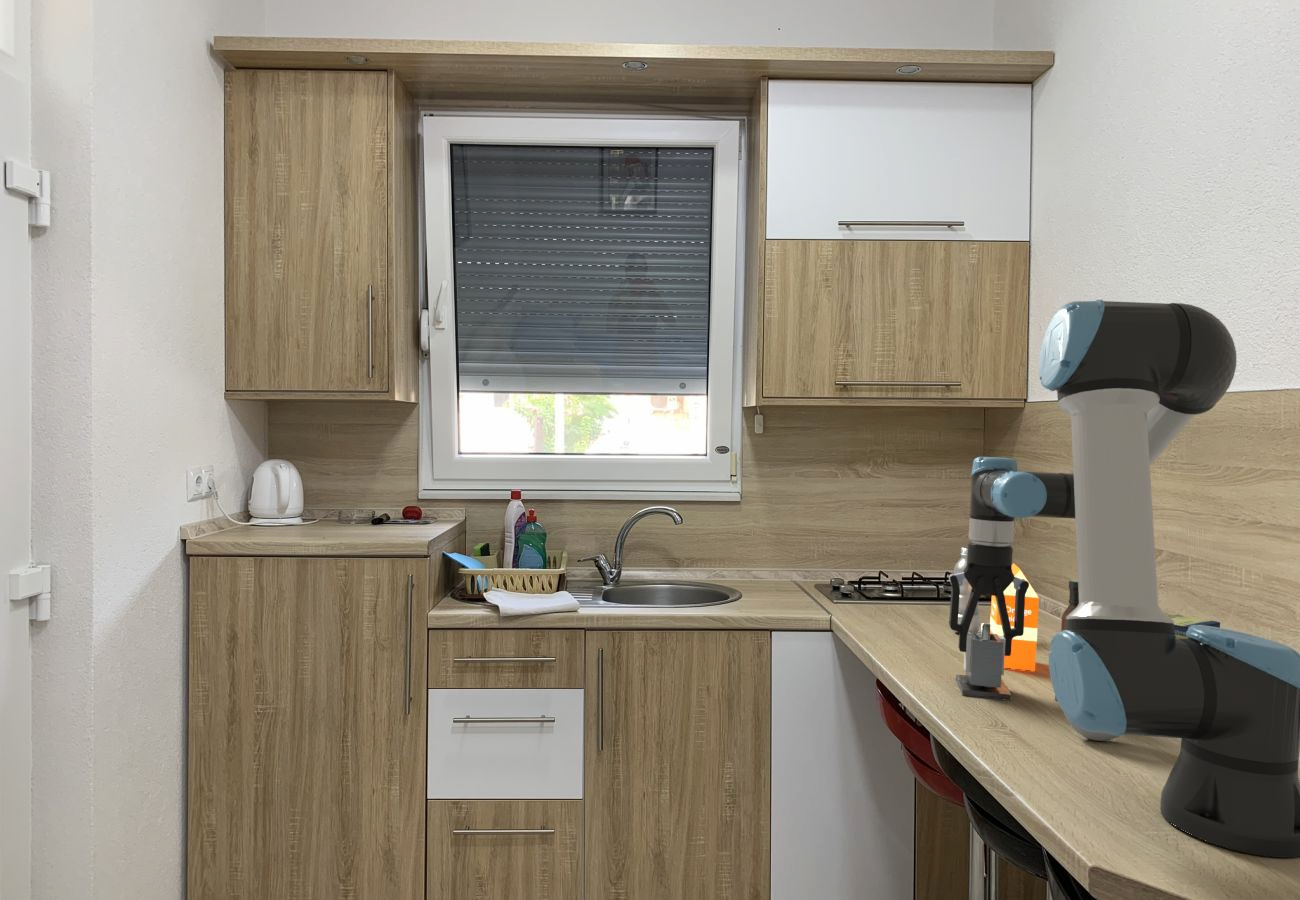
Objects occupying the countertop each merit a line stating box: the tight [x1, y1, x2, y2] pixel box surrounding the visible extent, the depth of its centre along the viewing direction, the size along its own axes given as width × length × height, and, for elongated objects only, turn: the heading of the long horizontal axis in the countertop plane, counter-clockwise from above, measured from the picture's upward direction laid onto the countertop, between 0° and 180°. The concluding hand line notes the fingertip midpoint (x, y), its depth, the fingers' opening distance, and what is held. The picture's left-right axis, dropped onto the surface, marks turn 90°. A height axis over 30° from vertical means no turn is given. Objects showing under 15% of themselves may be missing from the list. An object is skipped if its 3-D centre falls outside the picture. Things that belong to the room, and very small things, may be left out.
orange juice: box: [989, 562, 1040, 672], centre depth 177 cm, size 8×9×20 cm
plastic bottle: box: [952, 546, 981, 634], centre depth 203 cm, size 6×7×20 cm
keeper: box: [955, 622, 1012, 701], centre depth 158 cm, size 10×8×12 cm
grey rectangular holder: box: [965, 631, 1003, 688], centre depth 158 cm, size 7×5×8 cm
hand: (983, 671), depth 158 cm, fingers closed on grey rectangular holder, 5 cm apart
